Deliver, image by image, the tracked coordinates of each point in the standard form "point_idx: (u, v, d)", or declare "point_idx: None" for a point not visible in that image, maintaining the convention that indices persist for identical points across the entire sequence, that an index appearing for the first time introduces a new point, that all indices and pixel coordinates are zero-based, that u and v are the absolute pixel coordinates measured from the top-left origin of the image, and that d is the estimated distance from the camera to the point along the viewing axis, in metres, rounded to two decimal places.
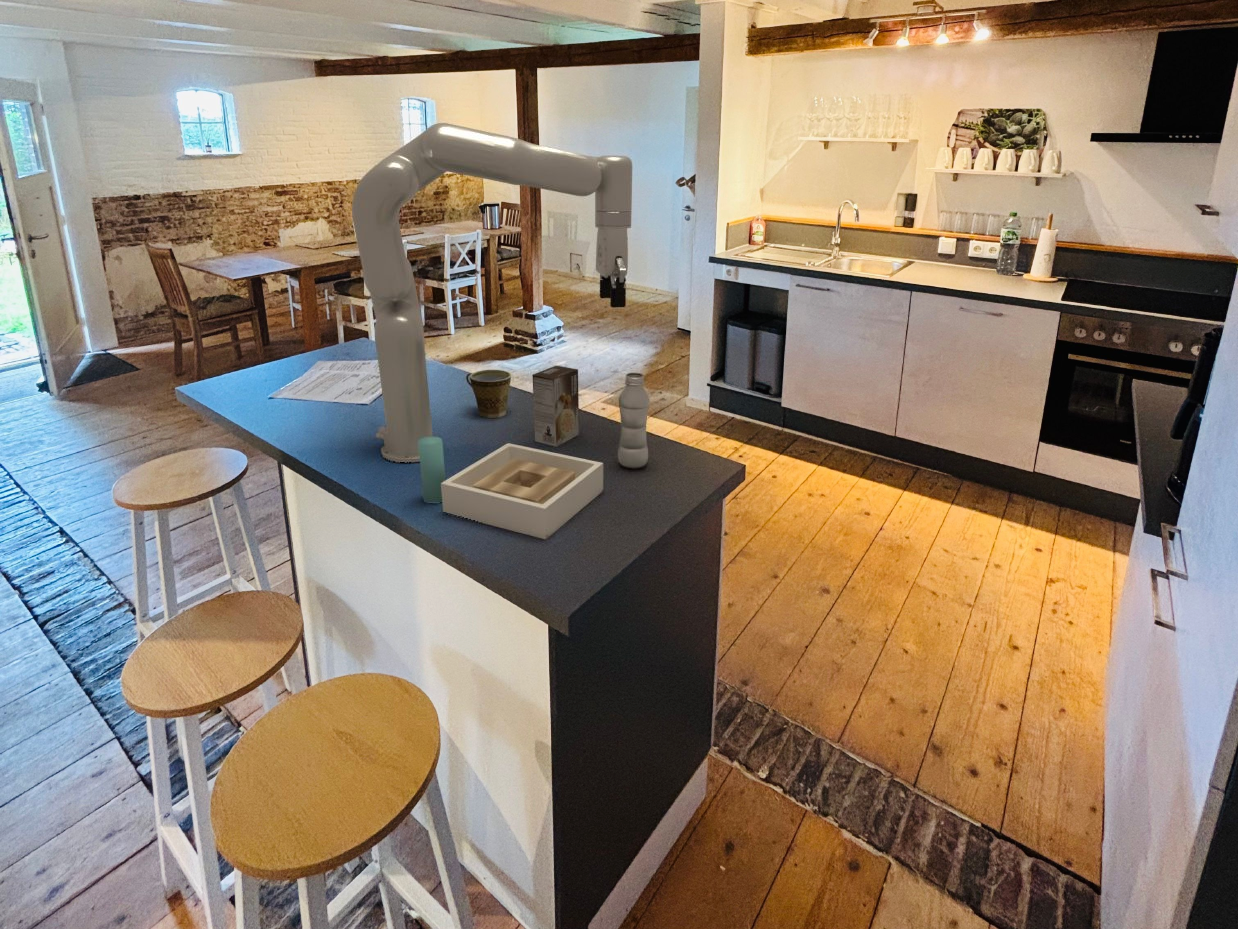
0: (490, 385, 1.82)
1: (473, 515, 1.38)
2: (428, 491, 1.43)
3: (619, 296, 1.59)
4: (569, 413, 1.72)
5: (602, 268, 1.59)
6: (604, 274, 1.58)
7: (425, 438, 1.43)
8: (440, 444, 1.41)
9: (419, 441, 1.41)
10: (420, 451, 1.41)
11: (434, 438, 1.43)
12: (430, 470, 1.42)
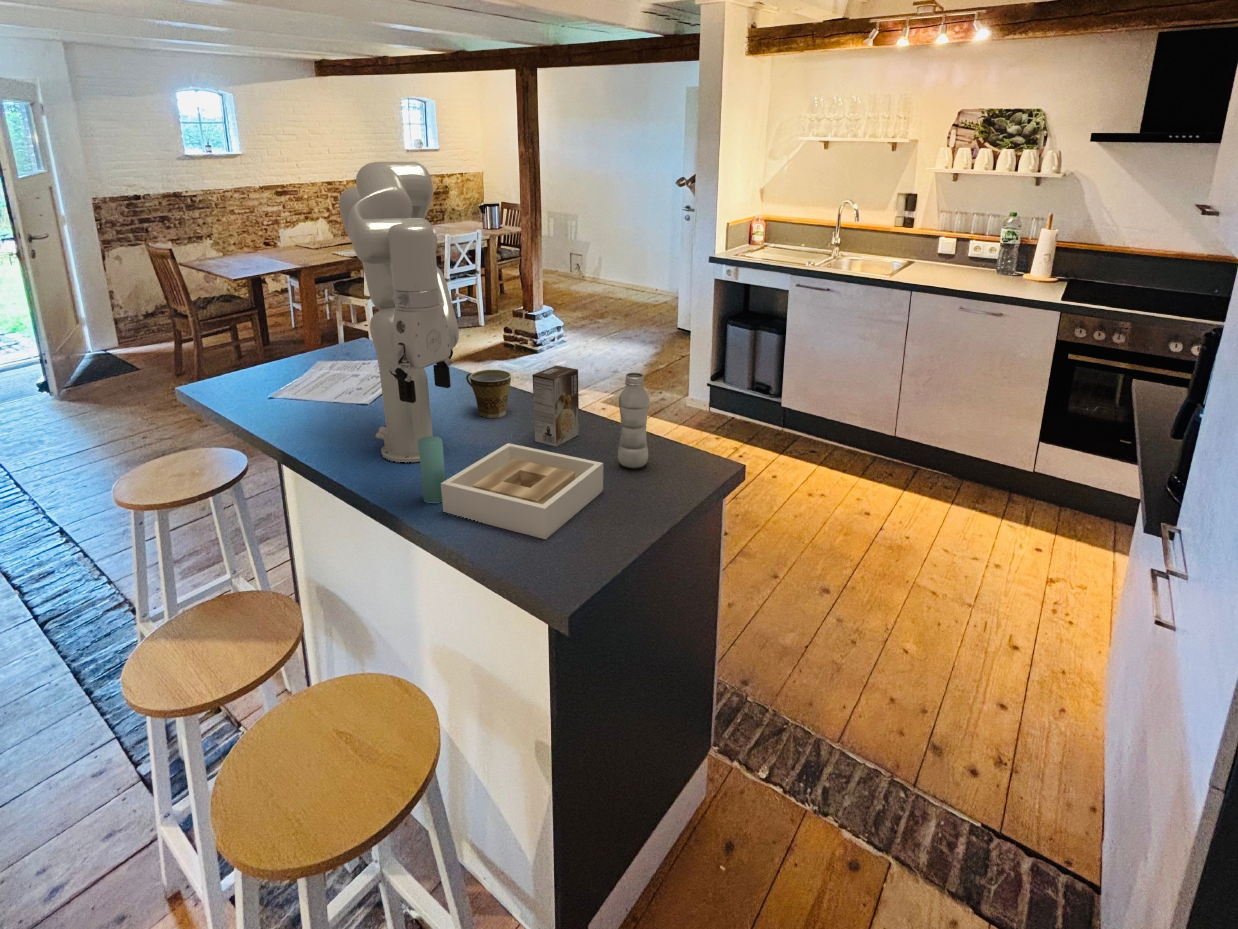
0: (490, 385, 1.82)
1: (473, 515, 1.38)
2: (429, 491, 1.43)
3: None
4: (569, 413, 1.72)
5: (443, 351, 1.35)
6: (448, 354, 1.37)
7: (425, 438, 1.43)
8: (440, 444, 1.41)
9: (419, 441, 1.41)
10: (420, 451, 1.41)
11: (434, 438, 1.43)
12: (430, 470, 1.42)
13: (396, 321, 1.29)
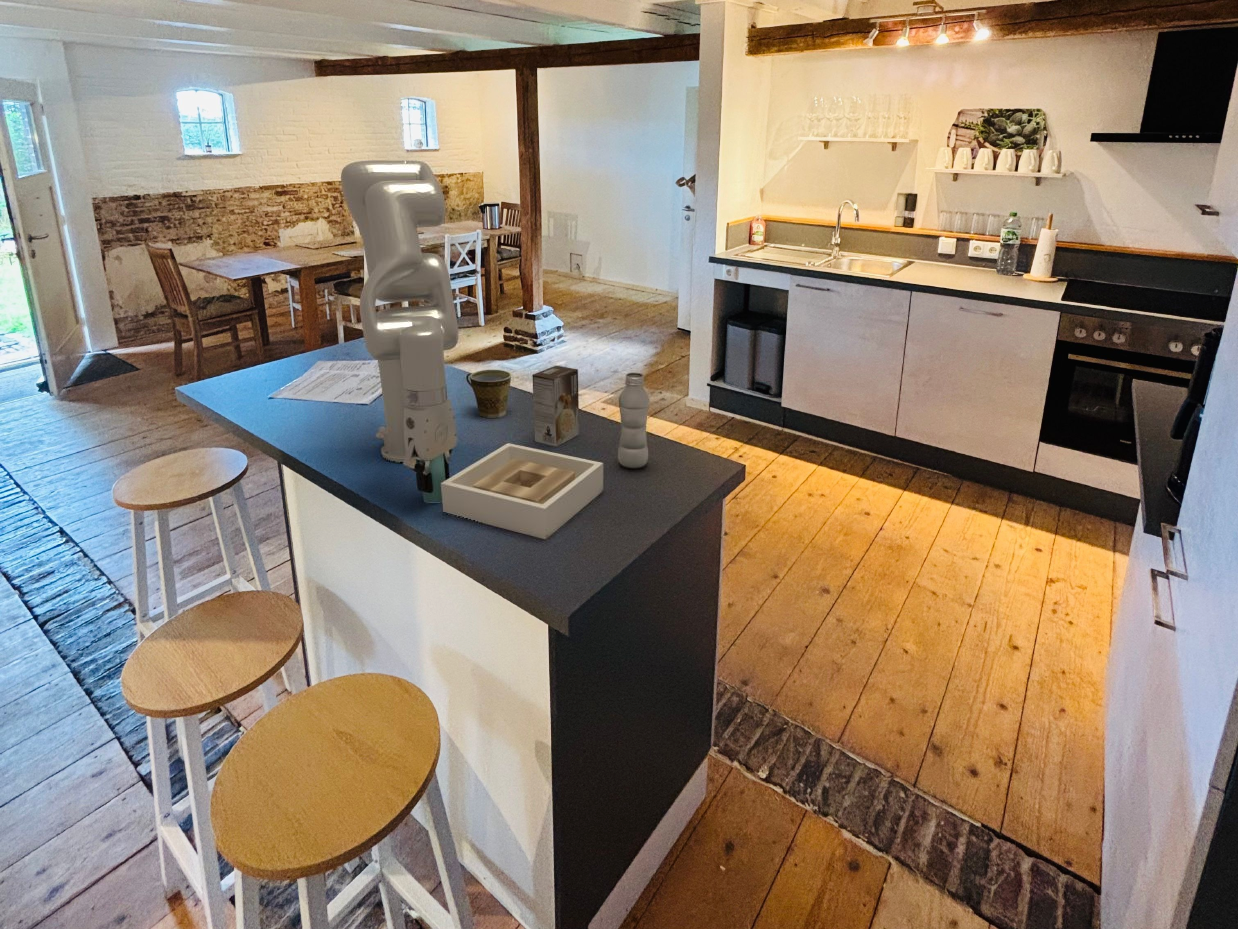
0: (490, 385, 1.82)
1: (473, 515, 1.38)
2: None
3: None
4: (569, 413, 1.72)
5: (450, 442, 1.43)
6: (455, 443, 1.44)
7: None
8: None
9: None
10: None
11: None
12: (430, 470, 1.42)
13: (406, 418, 1.36)
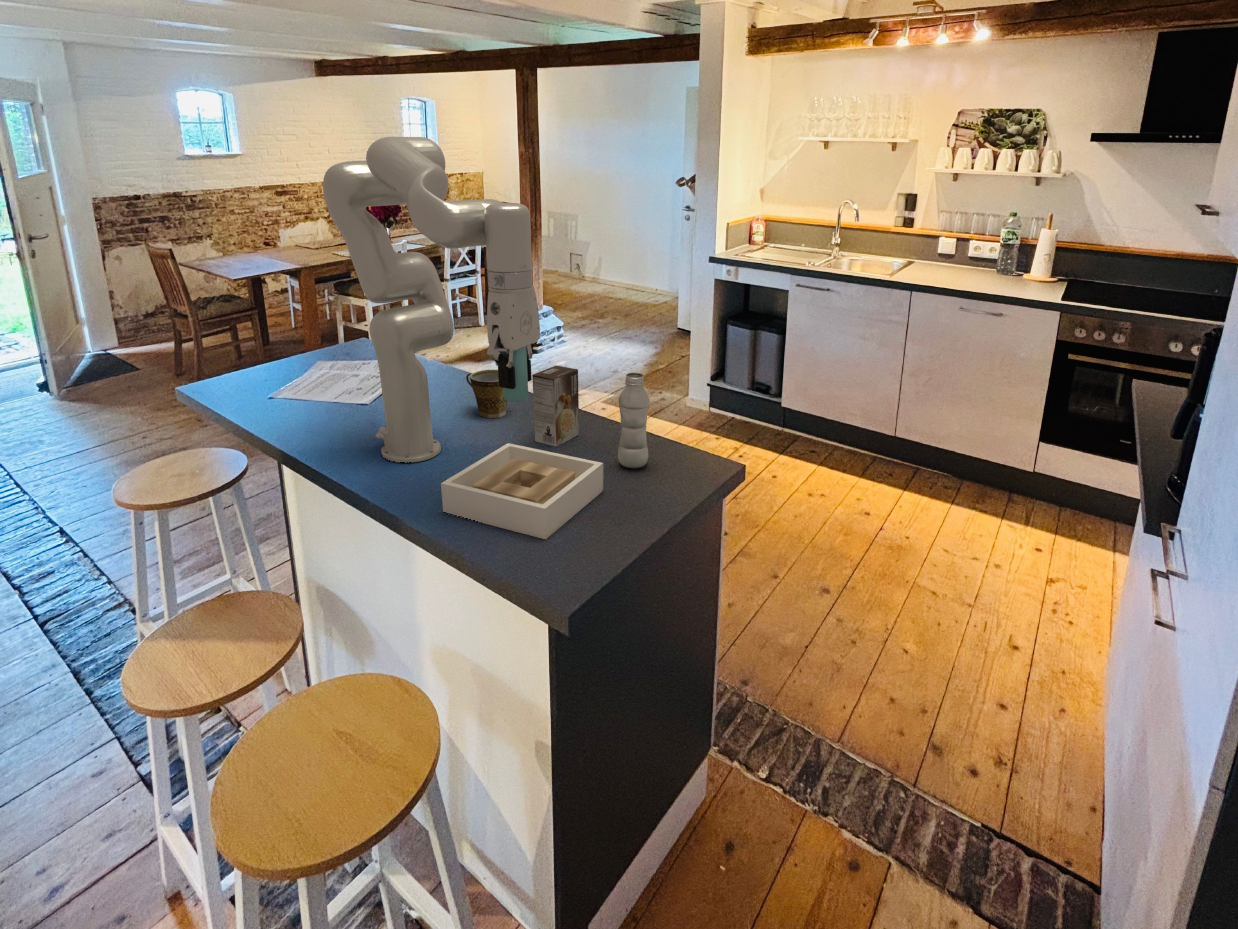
0: (490, 385, 1.82)
1: (473, 515, 1.38)
2: None
3: None
4: (569, 413, 1.72)
5: (533, 334, 1.34)
6: (538, 337, 1.35)
7: None
8: None
9: None
10: None
11: None
12: (513, 364, 1.33)
13: (490, 303, 1.27)
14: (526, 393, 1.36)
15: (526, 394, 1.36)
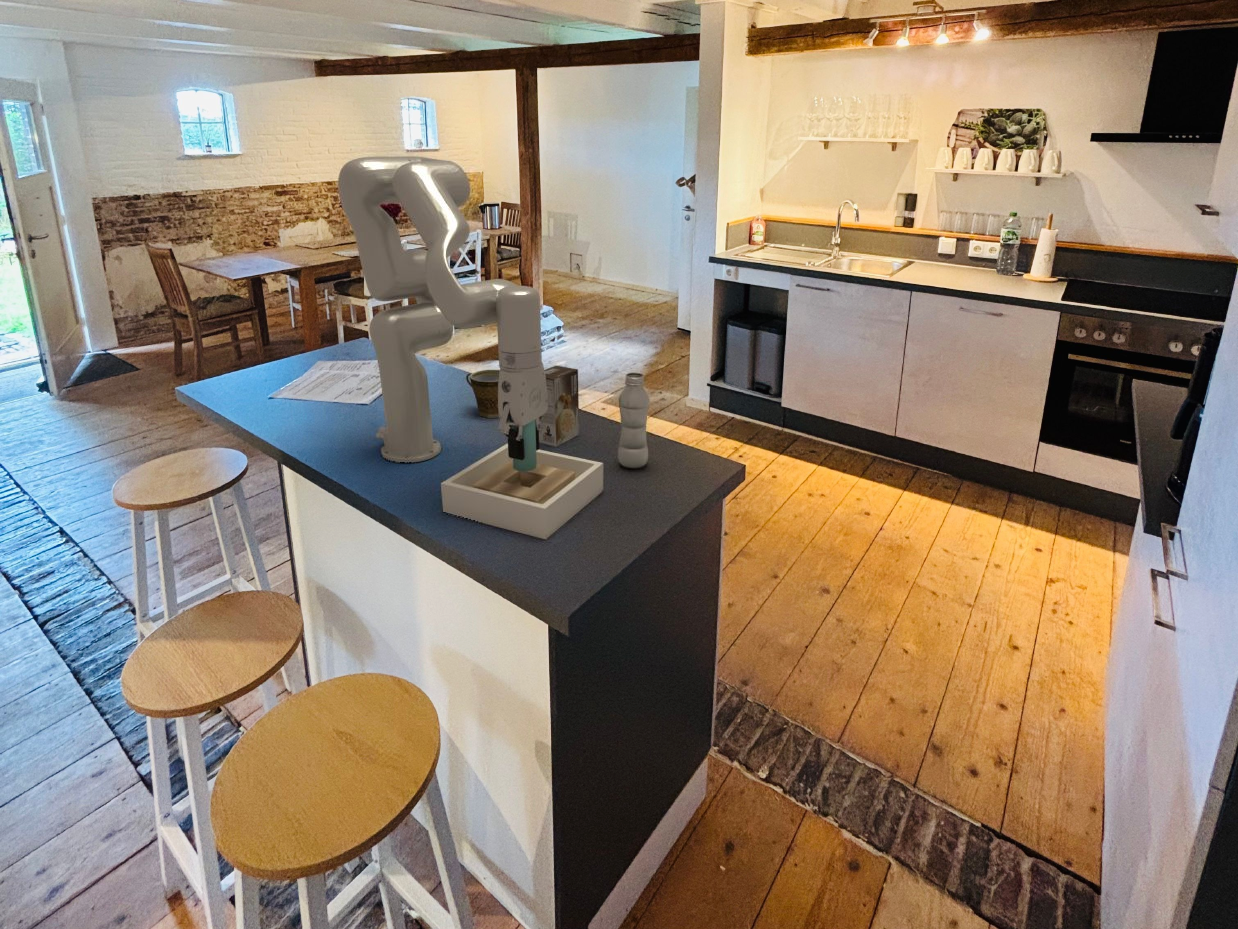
0: (490, 385, 1.82)
1: (473, 515, 1.38)
2: None
3: None
4: (569, 413, 1.72)
5: (542, 407, 1.39)
6: (546, 410, 1.41)
7: None
8: None
9: None
10: None
11: None
12: (523, 436, 1.38)
13: (501, 381, 1.32)
14: (534, 462, 1.42)
15: (534, 463, 1.42)
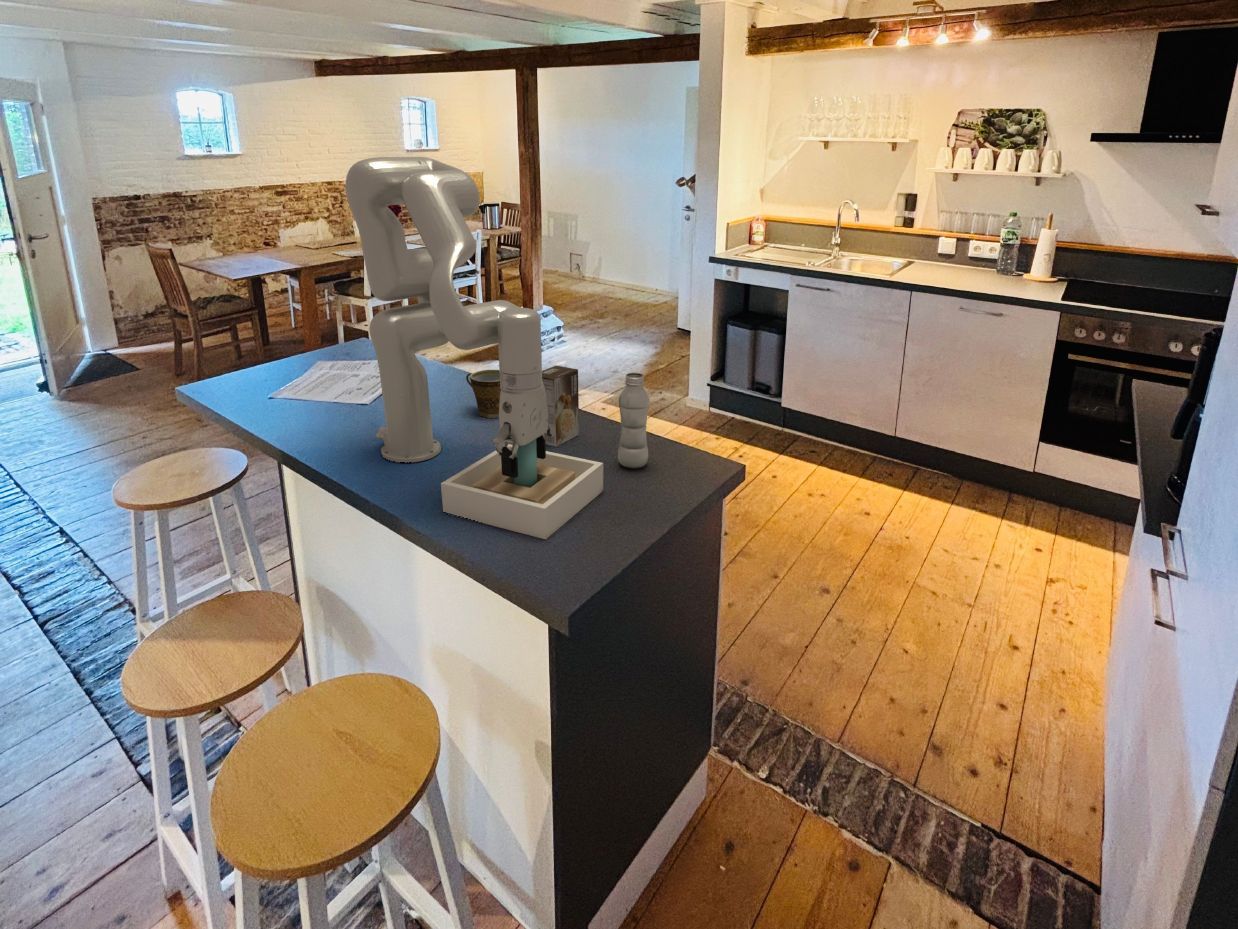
0: (490, 385, 1.82)
1: (473, 515, 1.38)
2: None
3: None
4: (569, 413, 1.72)
5: (542, 427, 1.41)
6: (546, 429, 1.42)
7: None
8: (535, 442, 1.40)
9: (513, 439, 1.40)
10: None
11: None
12: (524, 469, 1.41)
13: (502, 402, 1.34)
14: None
15: None
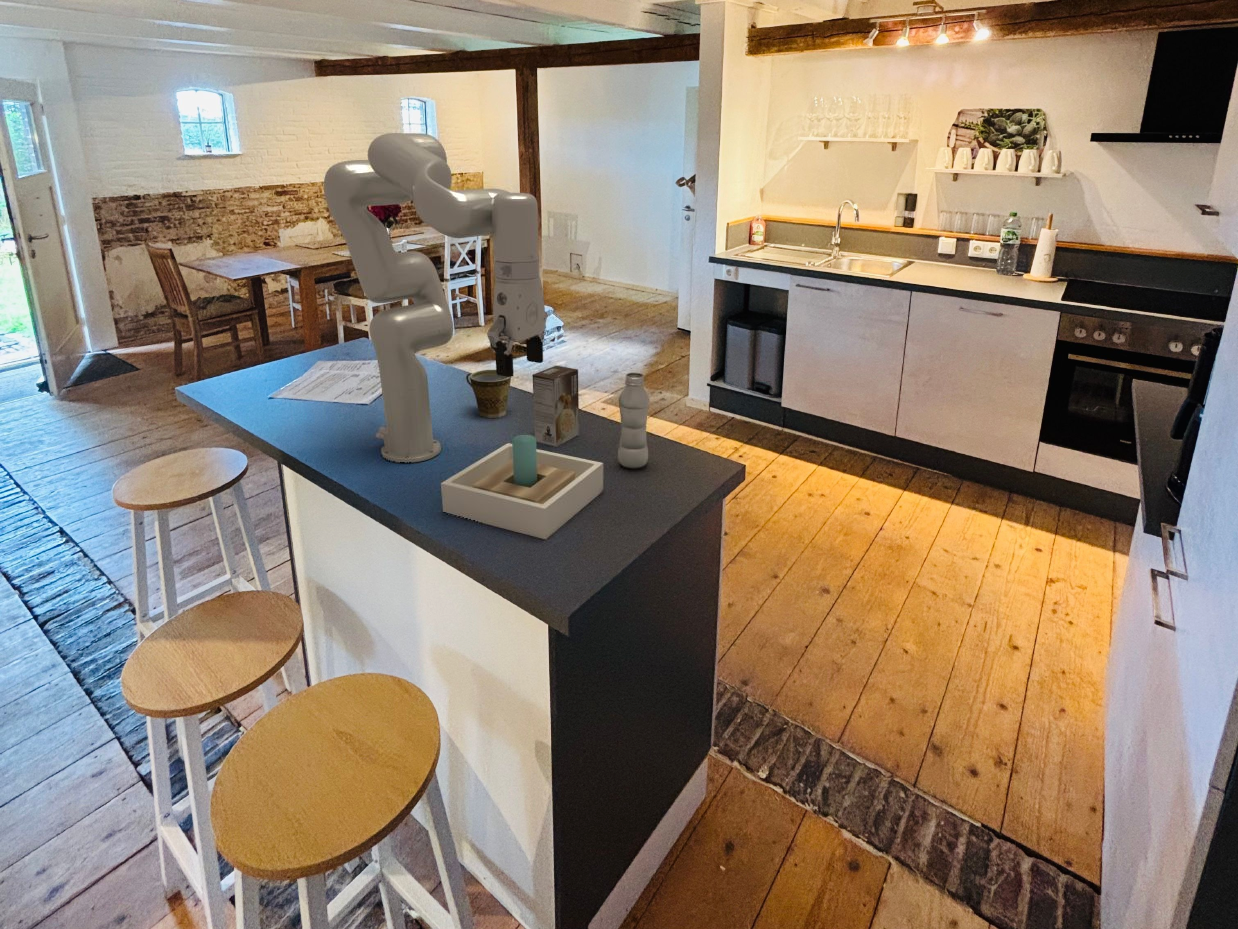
0: (490, 385, 1.82)
1: (473, 515, 1.38)
2: None
3: None
4: (569, 413, 1.72)
5: (539, 325, 1.33)
6: (544, 328, 1.35)
7: (518, 436, 1.42)
8: (535, 442, 1.40)
9: (513, 439, 1.40)
10: (515, 449, 1.40)
11: (527, 436, 1.42)
12: (524, 469, 1.41)
13: (497, 293, 1.26)
14: None
15: None
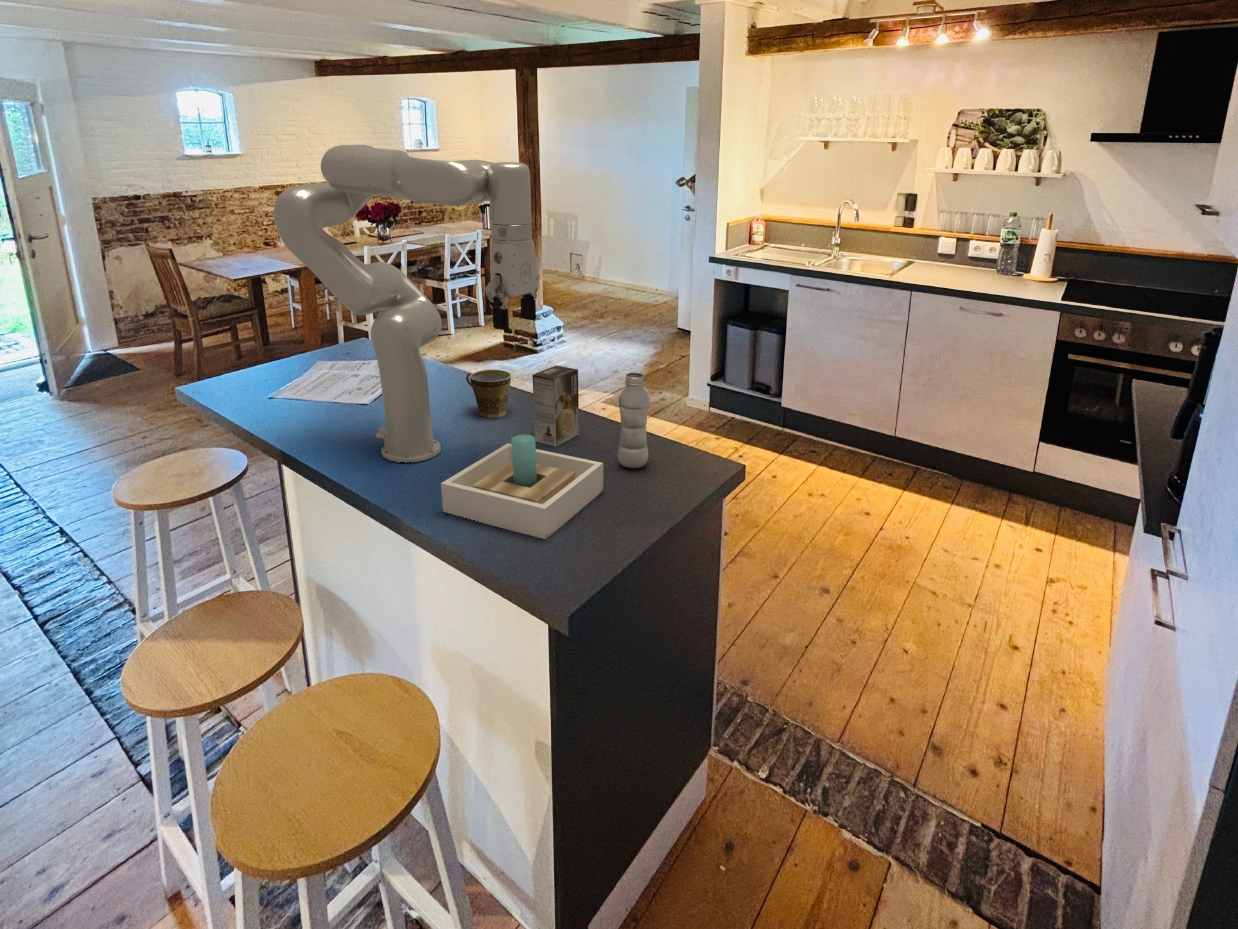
0: (490, 385, 1.82)
1: (473, 515, 1.38)
2: None
3: None
4: (569, 413, 1.72)
5: (532, 283, 1.47)
6: (536, 287, 1.49)
7: (518, 436, 1.42)
8: (534, 442, 1.40)
9: (513, 439, 1.40)
10: (514, 449, 1.40)
11: (527, 436, 1.42)
12: (524, 468, 1.41)
13: (493, 253, 1.40)
14: None
15: None
